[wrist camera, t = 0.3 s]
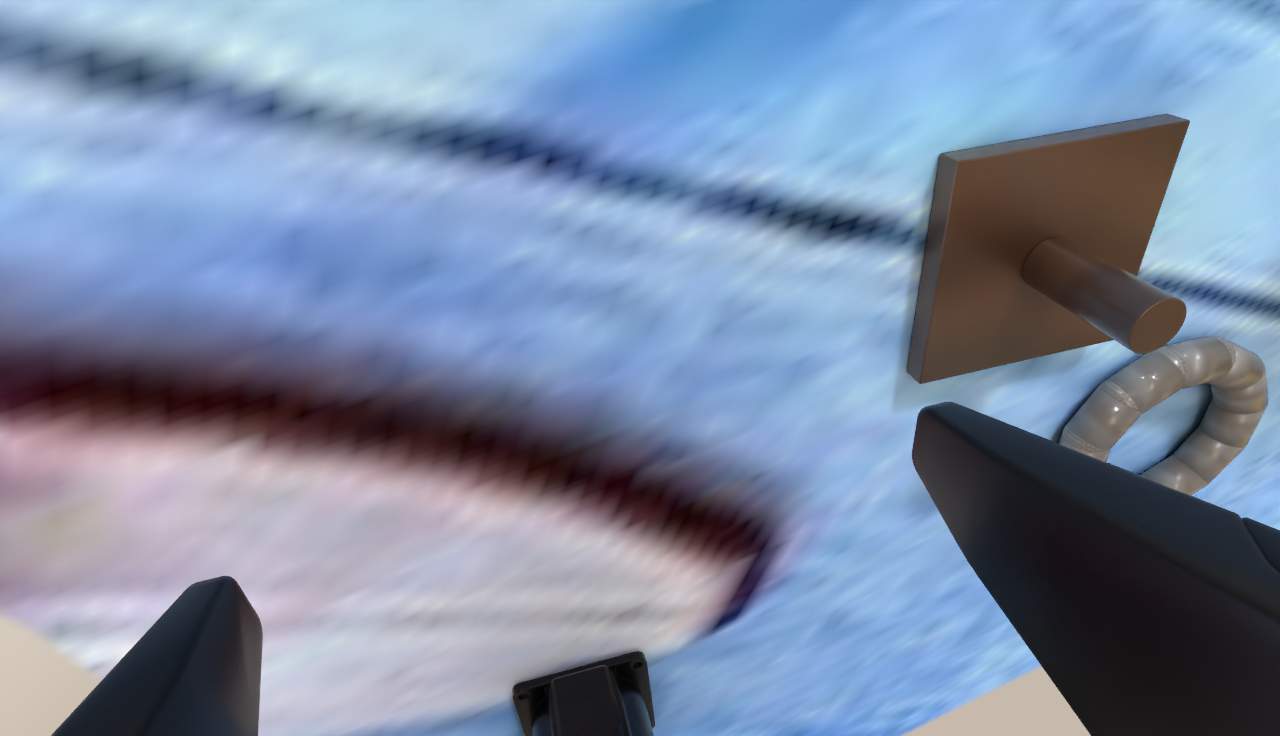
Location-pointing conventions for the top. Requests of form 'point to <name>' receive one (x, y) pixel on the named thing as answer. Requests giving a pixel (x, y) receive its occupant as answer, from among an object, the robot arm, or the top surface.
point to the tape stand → (1045, 248)
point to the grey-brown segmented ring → (1159, 377)
